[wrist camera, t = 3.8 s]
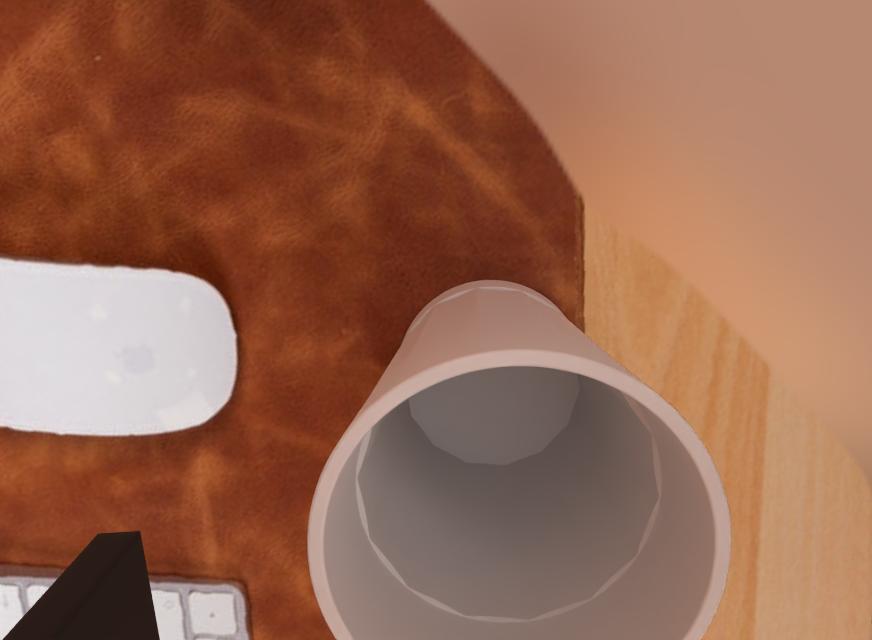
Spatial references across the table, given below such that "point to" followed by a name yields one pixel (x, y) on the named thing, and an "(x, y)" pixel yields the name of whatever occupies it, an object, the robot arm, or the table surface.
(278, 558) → the table surface
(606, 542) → the cup
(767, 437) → the table surface
